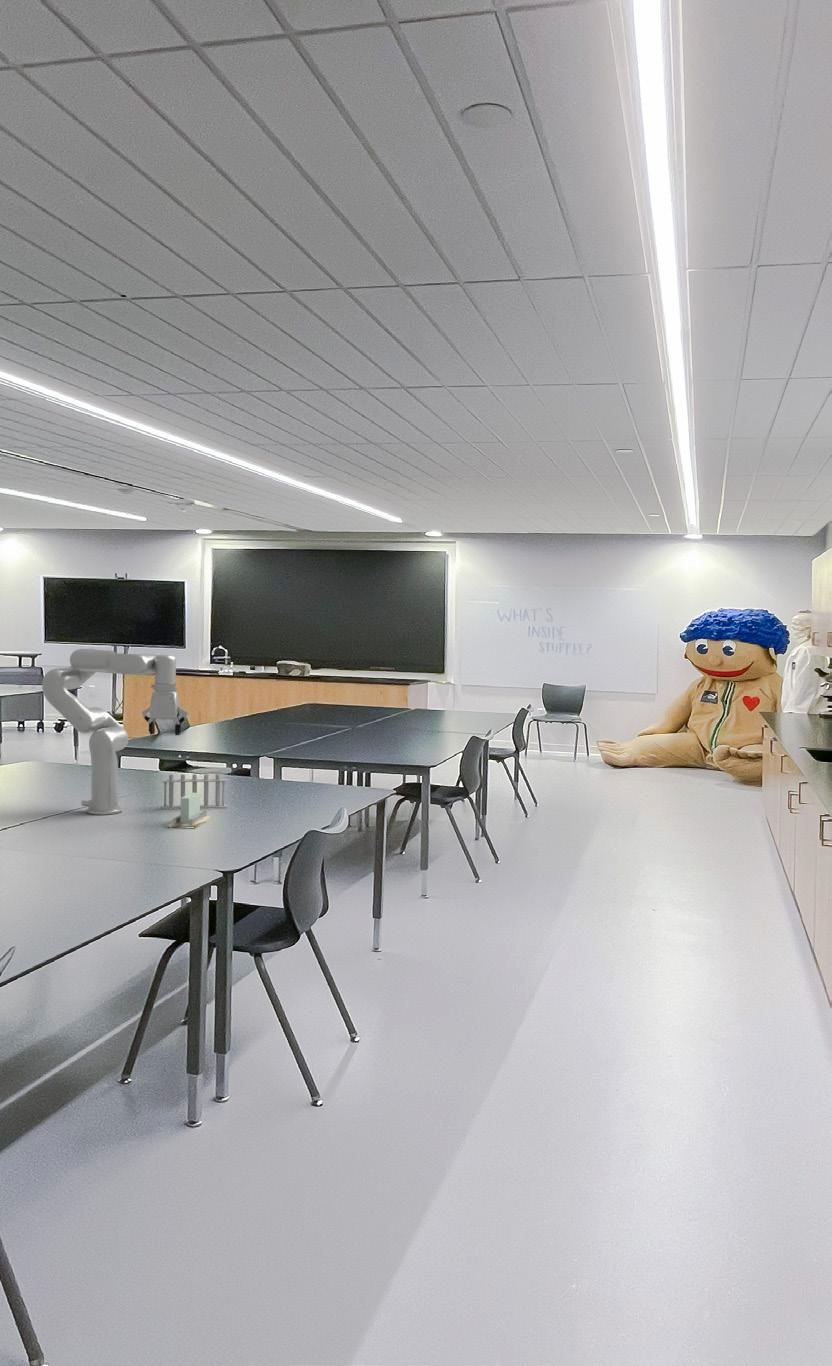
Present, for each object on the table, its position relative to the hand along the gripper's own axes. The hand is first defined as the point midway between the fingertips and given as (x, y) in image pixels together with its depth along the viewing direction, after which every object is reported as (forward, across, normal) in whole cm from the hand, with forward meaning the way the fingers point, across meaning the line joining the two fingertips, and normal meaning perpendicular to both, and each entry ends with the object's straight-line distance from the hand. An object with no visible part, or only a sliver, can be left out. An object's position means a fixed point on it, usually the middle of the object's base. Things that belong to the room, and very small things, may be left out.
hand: (164, 734), depth 367 cm
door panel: (+29, +14, -12) cm, 35 cm away
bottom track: (+30, +14, -12) cm, 35 cm away
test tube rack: (+31, +6, +18) cm, 36 cm away
